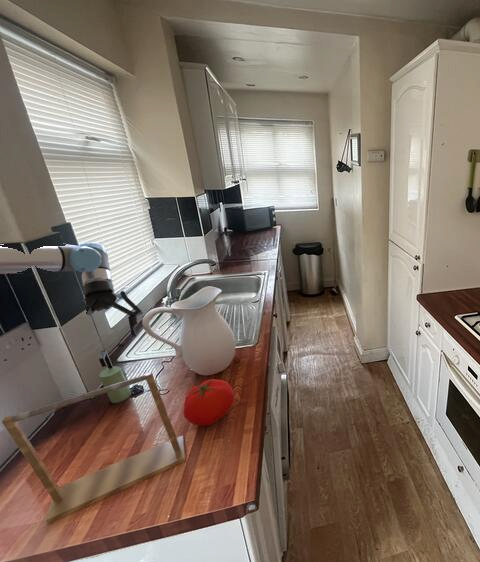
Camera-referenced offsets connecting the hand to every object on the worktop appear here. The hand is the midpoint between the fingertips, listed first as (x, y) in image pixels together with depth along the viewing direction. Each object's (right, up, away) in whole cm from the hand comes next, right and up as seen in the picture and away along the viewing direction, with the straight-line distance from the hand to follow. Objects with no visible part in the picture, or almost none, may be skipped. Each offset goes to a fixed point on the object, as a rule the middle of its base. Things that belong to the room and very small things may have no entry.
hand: (108, 342), depth 99 cm
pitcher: (+26, -12, +10) cm, 30 cm away
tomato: (+39, -20, -10) cm, 45 cm away
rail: (+27, -26, -26) cm, 46 cm away
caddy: (+6, -17, -2) cm, 18 cm away
